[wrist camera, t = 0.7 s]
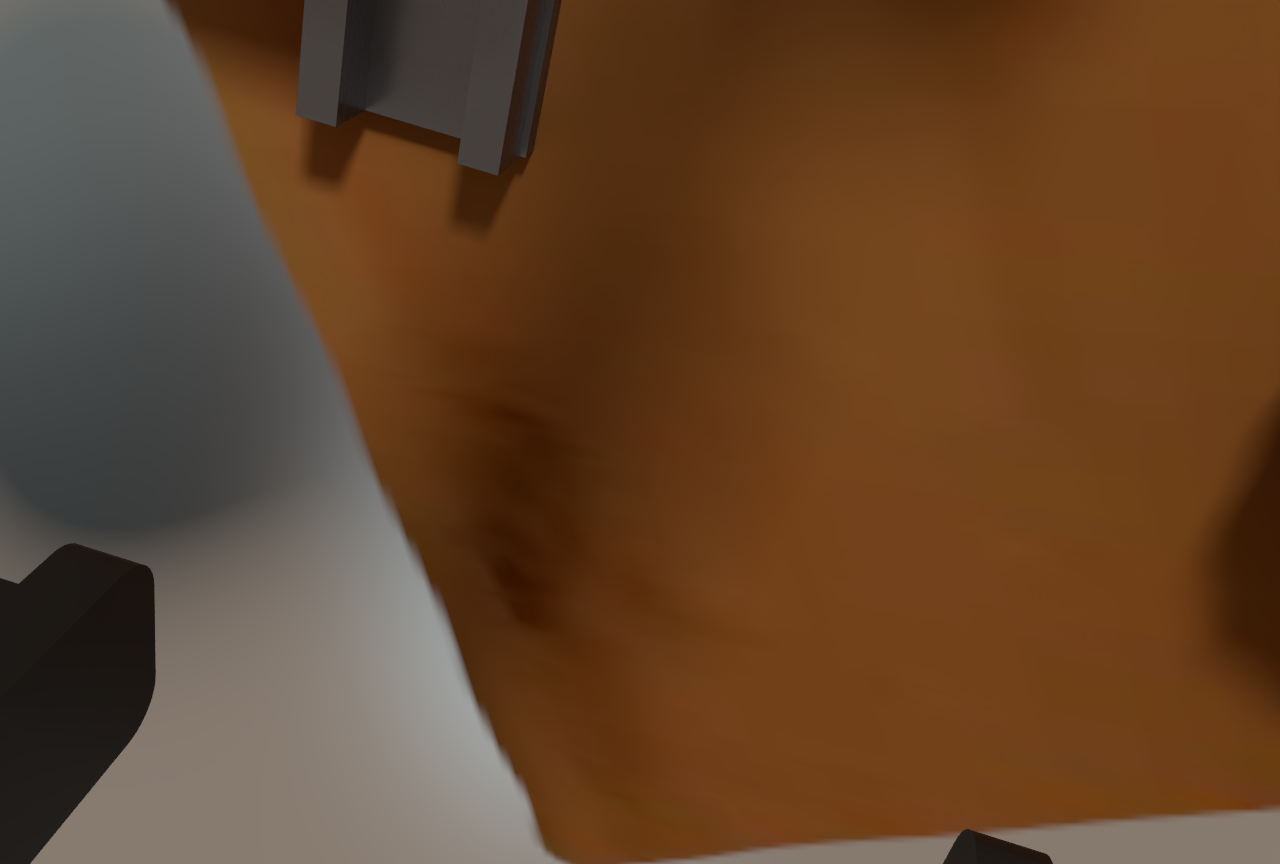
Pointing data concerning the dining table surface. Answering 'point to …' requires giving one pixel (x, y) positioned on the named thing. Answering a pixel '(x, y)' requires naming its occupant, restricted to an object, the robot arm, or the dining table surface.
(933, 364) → the dining table surface
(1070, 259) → the dining table surface
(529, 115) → the stand
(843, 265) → the dining table surface
